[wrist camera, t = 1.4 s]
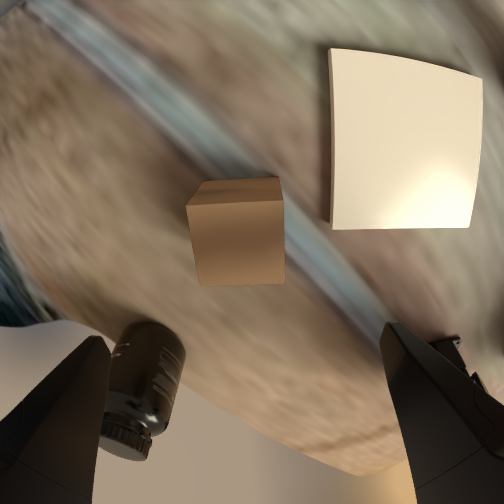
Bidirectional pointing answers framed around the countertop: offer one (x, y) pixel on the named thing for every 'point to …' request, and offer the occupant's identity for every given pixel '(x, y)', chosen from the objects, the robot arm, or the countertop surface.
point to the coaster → (402, 142)
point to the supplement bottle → (140, 389)
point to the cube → (238, 231)
